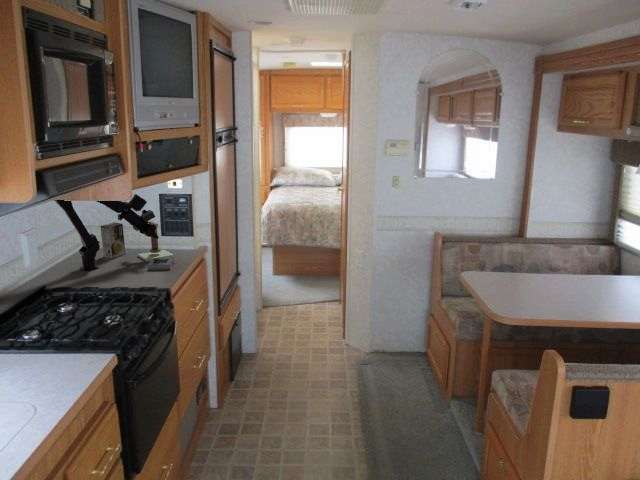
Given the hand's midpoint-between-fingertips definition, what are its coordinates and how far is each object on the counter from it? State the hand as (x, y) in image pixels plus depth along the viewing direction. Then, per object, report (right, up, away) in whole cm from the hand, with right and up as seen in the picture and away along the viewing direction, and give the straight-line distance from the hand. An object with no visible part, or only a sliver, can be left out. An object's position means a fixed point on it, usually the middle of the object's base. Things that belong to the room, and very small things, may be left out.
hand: (156, 237), depth 269 cm
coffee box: (-23, -9, +4) cm, 25 cm away
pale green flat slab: (-1, -10, +2) cm, 10 cm away
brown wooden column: (-1, -7, +1) cm, 7 cm away
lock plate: (+6, -14, -14) cm, 21 cm away
